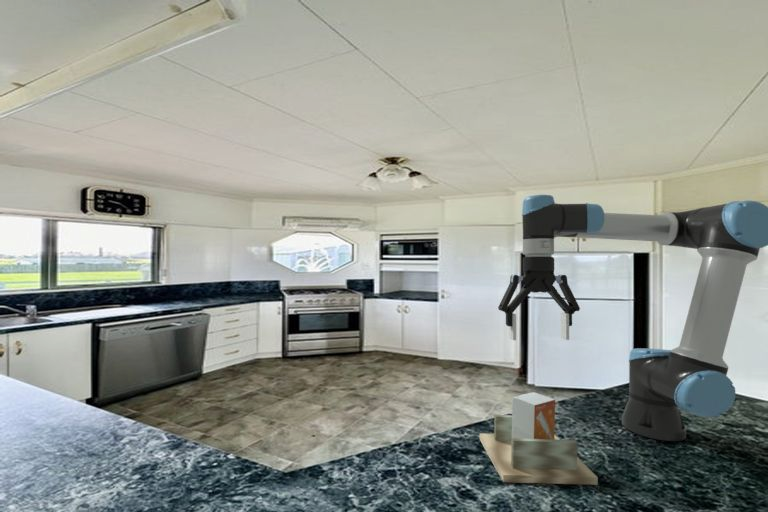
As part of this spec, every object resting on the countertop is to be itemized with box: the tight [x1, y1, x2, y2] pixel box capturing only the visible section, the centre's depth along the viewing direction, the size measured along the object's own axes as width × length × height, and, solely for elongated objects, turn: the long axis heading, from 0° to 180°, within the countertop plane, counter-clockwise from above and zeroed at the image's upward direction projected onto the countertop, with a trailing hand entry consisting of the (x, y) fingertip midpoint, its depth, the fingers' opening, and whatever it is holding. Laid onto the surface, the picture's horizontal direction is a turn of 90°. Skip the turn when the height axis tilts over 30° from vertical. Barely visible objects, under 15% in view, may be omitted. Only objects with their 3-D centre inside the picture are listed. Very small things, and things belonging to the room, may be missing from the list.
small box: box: [511, 391, 556, 450], centre depth 91 cm, size 8×6×13 cm
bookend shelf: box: [479, 414, 599, 486], centre depth 91 cm, size 20×20×8 cm
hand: (538, 339), depth 98 cm, fingers open, 13 cm apart
